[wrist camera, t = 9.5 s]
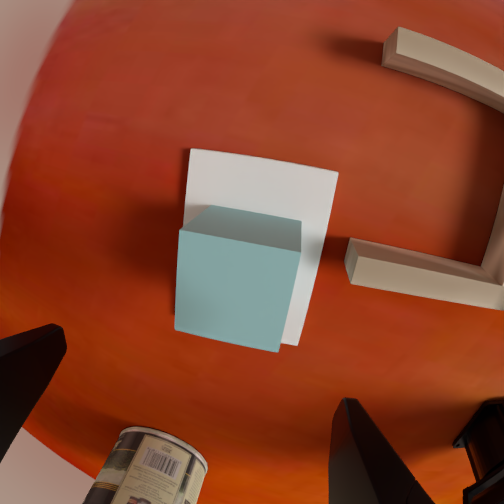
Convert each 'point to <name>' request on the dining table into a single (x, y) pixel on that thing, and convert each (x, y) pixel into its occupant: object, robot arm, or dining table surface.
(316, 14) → the dining table surface
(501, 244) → the birch cubby
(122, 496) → the coffee can
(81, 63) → the dining table surface
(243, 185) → the white flat slab
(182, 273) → the teal cube
